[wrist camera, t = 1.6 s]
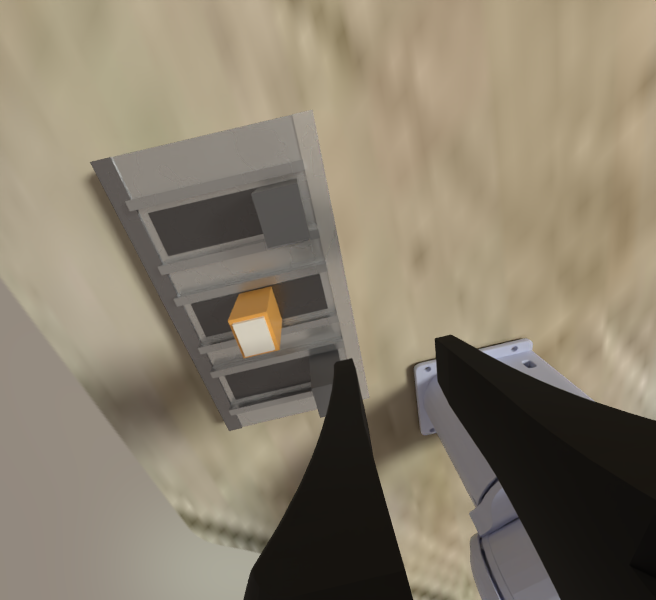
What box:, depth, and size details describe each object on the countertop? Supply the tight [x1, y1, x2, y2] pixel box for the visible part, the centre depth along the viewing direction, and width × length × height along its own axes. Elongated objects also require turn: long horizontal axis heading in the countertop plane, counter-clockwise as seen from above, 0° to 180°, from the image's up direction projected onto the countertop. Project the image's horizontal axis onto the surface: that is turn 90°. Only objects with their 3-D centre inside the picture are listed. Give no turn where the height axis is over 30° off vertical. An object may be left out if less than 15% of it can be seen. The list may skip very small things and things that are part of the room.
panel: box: [90, 110, 369, 431], centre depth 19 cm, size 11×19×2 cm, turn 12°
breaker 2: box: [309, 349, 340, 418], centre depth 19 cm, size 2×2×3 cm
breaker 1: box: [251, 178, 310, 248], centre depth 14 cm, size 2×2×3 cm
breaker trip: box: [228, 286, 282, 358], centre depth 17 cm, size 2×2×4 cm
